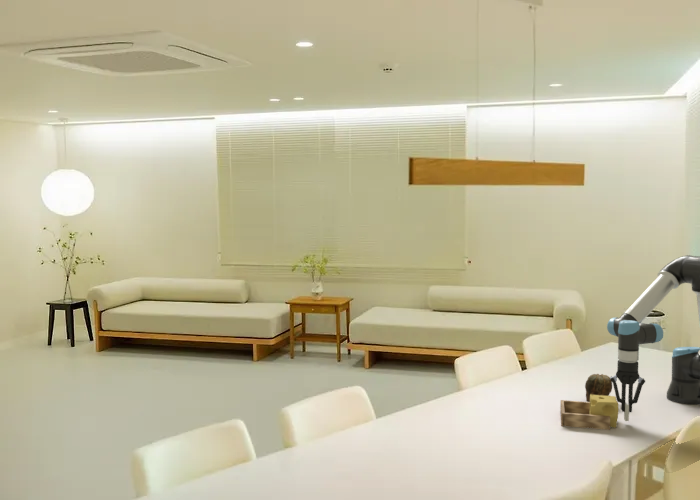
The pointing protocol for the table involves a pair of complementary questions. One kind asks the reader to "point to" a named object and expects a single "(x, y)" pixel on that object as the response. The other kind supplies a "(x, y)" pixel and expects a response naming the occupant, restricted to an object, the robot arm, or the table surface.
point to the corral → (581, 416)
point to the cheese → (604, 407)
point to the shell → (598, 385)
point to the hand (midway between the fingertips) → (626, 419)
